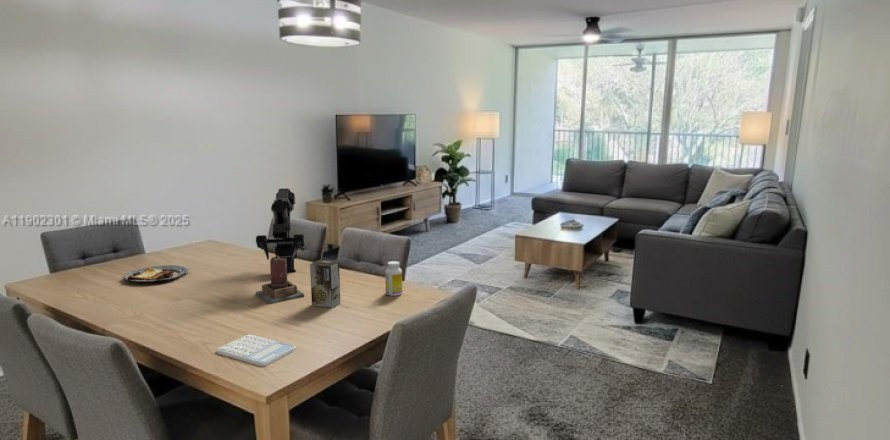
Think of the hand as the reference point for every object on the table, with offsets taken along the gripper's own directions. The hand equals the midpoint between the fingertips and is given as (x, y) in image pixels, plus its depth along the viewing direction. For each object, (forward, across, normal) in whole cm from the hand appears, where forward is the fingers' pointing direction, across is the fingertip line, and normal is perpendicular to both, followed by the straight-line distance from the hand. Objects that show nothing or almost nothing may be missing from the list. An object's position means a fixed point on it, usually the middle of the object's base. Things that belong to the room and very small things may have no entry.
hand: (279, 258), depth 215 cm
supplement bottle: (+18, +44, +1) cm, 48 cm away
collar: (+14, 0, +4) cm, 15 cm away
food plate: (-10, -54, +29) cm, 62 cm away
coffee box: (+23, +18, -5) cm, 30 cm away
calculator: (+50, -2, -32) cm, 60 cm away
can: (+13, 0, +4) cm, 14 cm away
